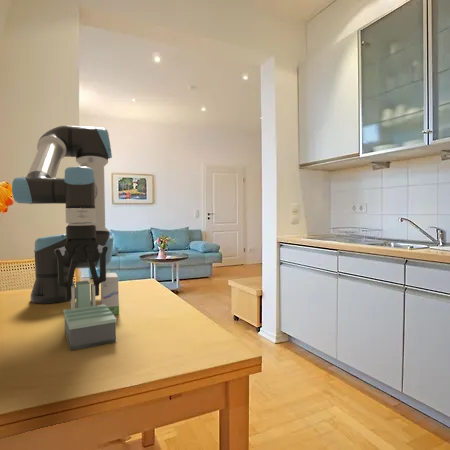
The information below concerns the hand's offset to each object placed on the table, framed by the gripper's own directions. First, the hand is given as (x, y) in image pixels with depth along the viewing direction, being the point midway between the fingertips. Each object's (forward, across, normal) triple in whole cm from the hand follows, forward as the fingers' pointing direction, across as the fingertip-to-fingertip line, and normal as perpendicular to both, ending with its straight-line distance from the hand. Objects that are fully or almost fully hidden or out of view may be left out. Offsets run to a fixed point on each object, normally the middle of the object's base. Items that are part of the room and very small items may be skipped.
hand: (83, 309), depth 96 cm
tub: (+5, 0, -10) cm, 11 cm away
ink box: (+5, +9, +10) cm, 14 cm away
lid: (+1, 0, -7) cm, 7 cm away
